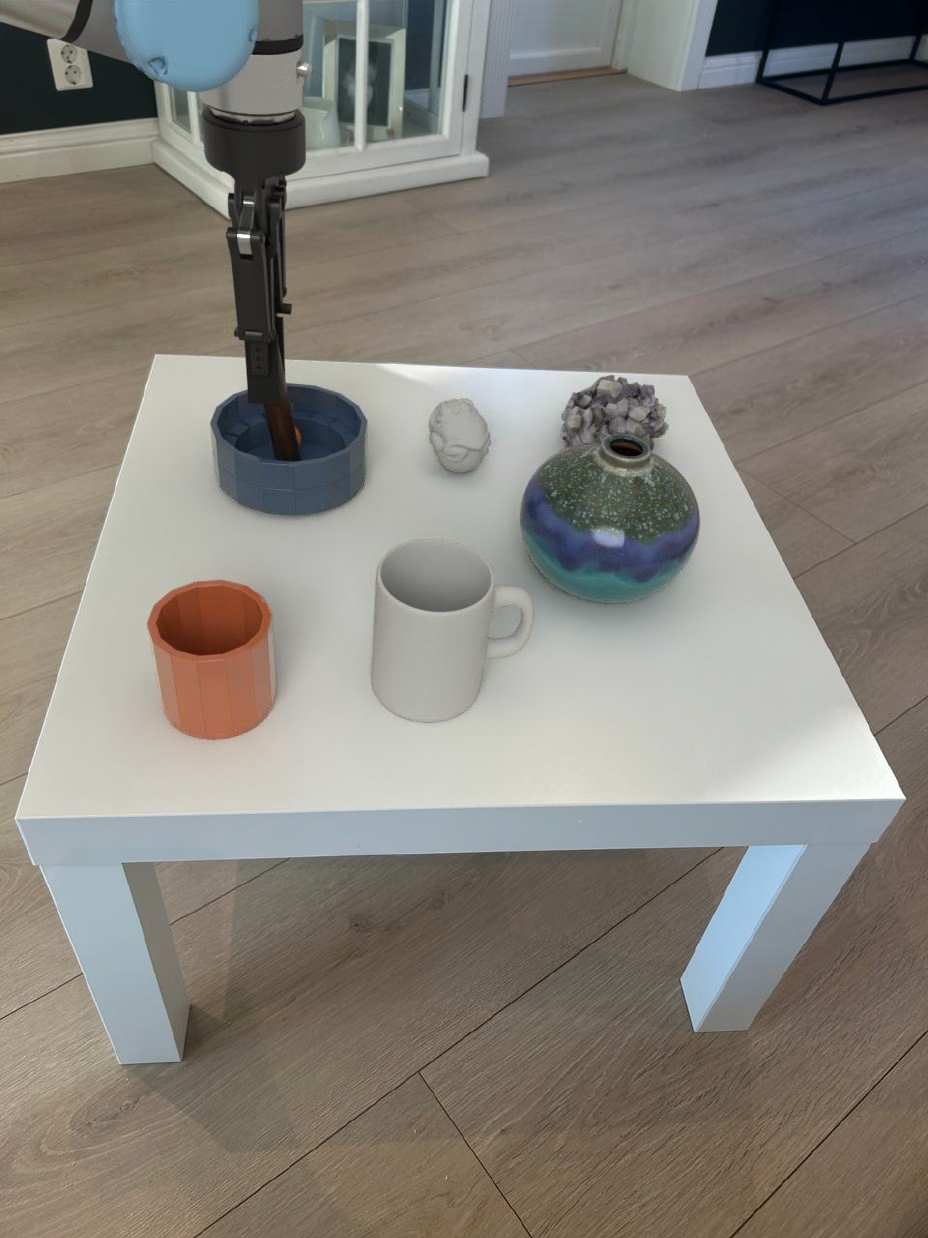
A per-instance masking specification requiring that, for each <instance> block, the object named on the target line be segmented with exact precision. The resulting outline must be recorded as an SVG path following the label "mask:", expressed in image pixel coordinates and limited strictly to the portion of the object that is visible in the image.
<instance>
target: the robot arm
mask: <svg viewBox="0 0 928 1238" xmlns="http://www.w3.org/2000/svg"><path fill="white" fill-rule="evenodd" d="M0 23H4V24H7V25H10V26H14V27H17V28H20V29H23V30H26V31H30V32H33V33H36V34H40V35H43V36H46V37H50V38H54V39H55V40H58V41H61V42H64V43H66V44H70V46H74V47H77V48H80V49H83V50H87V51H90V52H93V53H97V54H99V55H103V56H106V57H109V58H113V59H116V60H119V61H123V62H124V63H125V62H126V63H129V64H132V65H133V66H135V67H136V68H137V69H138V70H139V72H142V73H143V74H145V75H146V77H148V78H149V79H150V80H153V81H155V82H157V83H161V84H165V85H167V86H168V87H171V88H172V89H176V90H179V91H183V92H189V93H198V97H199V100H200V101H201V102H202V103H203V104H204V105H205V106H204V108H203V110H202V111H201V112H200V113H201V114H200V115H201V116H200V117H201V118H200V119H201V127H202V128H201V129H202V140H203V151H204V158H205V160H206V162H207V163H208V164H209V165H210V167H212V168H213V169H215V170H217V171H219V172H221V173H225V174H227V175H229V176H230V177H231V178H232V179H233V181H234V183H233V192H228V194H227V211H228V217H229V219H230V220H231V226H228V227H227V229H226V232H225V238H226V241H227V246H228V251H229V255H230V262H231V272H232V273H231V274H232V284H233V296H234V302H235V303H234V304H235V305H234V306H235V315H236V327H235V329H234V330H233V336H234V337H235V338H238V341H244V355H245V371H246V387H247V389H248V403H254V404H265V405H276V406H279V405H280V375H279V350H280V355H281V360H282V365H283V370H284V375H285V376H286V358H285V357H286V355H285V331H284V330H285V327H284V326H285V325H284V316H279V314H280V315H290V316H291V315H292V311H293V303H287V302H284V299H285V298H286V296H287V293H288V288H287V270H286V269H287V268H286V267H287V266H286V261H287V259H286V258H287V257H286V205H287V202H288V201H287V200H288V196H287V195H288V194H287V192H288V191H287V186H288V182H287V179H286V177H289V176H291V175H293V174H296V173H298V172H300V170H302V169H303V168H304V166H305V164H306V162H307V135H306V132H307V131H306V130H307V129H306V127H307V126H306V117H305V116H304V114H303V113H302V111H301V110H300V109H301V108H302V107H303V106H304V104H305V78H306V79H307V78H310V77H312V75H313V72H314V67H313V65H312V63H311V62H308V61H302V57H303V55H304V40H305V39H304V0H0ZM274 324H275V327H274ZM275 329H276V330H275ZM278 345H279V349H278ZM247 389H246V390H247Z"/></svg>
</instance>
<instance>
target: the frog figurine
mask: <svg viewBox="0 0 928 1238" xmlns="http://www.w3.org/2000/svg"><path fill="white" fill-rule="evenodd" d="M428 431H429V432H430V433H429V436H428V440H429V442H430V444H431V445H432V450H433V452H434V454H435V457H436V458H437V461H438V462H439V463H440V464H441V466H443V467H444V469H446V470H448V471H450V472H453V473H460V474H461V473H467V472H470V471H472V470H474V469H476V467H478V466H479V465H480V464H481V462H482V461H483V459H484V457H485V456H486V455H488V454H489V451H490V450H489V447H490V446H491V445H492V439H491V433H490V431H489V430H488V424H487V422H486V420H485V418H484V417H483V415H481V414H480V413H479V410H478V408H476V407H475V406H474V401H472V400H471V399H470V398H467V397H462V398H459V399H457V398H451V399H449V400H444V401H441V402H439V403H437V404H436V406H435V407H434V408H433V410H432V411H431V414H430V417H429V419H428Z"/></svg>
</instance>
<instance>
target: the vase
mask: <svg viewBox="0 0 928 1238" xmlns="http://www.w3.org/2000/svg"><path fill="white" fill-rule="evenodd" d="M693 490H694V489H693V488H692V487H691V485H690V483H689V482H688V480H687V479H686V478H685V477H684V476H683V474H682V473H681V472H680V471H679V470H678V468H676V467H675V466H673V465H672V464H671V463H670V462H669V461H668V460H666V459H665V458H663V457H662V456H659V454H656V453H655V452H652V450H651V451H650V447H649V446H648V444H647V443H646V442H644V441H643V440H642V439H640V438H638V437H635V436H632V435H628V434H613V435H610V436H608V437H606V438H605V439H604V440H603V441H596V442H589V443H583V444H579V445H575V446H572V447H567V448H564V449H562V450H560V451H558V452H556V453H554V454H552V455H551V456H550V457H548V458H547V459H546V460H545V461H544V462H543V463H542V464H540V465H539V467H537V469H536V470H535V471H534V473H533V474H532V476H530V479H529V480H528V481H527V484H526V485H525V489H524V490H523V494H522V496H521V497H522V498H521V501H520V509H519V526H520V531H521V536H522V541H523V544H524V546H525V549H526V551H527V554H528V557H529V558H530V560H531V561H532V562H533V564H534V565H535V567H536V568H537V570H538V571H539V573H540V574H542V576H543V577H545V579H547V580H548V581H549V582H550V583H552V584H553V585H554V586H556V587H557V588H559V589H560V590H562V591H563V592H565V593H568V594H569V595H571V596H574V597H577V598H580V599H583V600H586V601H591V602H597V603H602V604H603V603H604V604H623V603H624V604H625V603H629V602H630V603H631V602H634V601H635V602H636V601H638V600H641V599H642V600H643V599H644V598H647V597H649V596H652V595H654V594H655V593H657V592H659V591H660V590H662V589H664V588H666V586H668V585H669V584H670V583H672V581H674V580H675V579H676V578H677V577H678V576H679V575H680V574H681V572H683V570H684V569H685V567H686V566H687V564H688V563H689V561H690V560H691V557H692V555H693V554H694V551H695V549H696V546H697V544H698V541H699V540H698V539H699V536H700V529H701V516H700V515H701V514H700V508H699V503H698V500H697V498H696V495H695V492H694V491H693Z"/></svg>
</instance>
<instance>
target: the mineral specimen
mask: <svg viewBox="0 0 928 1238" xmlns="http://www.w3.org/2000/svg"><path fill="white" fill-rule="evenodd" d="M627 379H628V378H627V377H621V376H618V378H617V379H615V374H608V375H606V376H600V377H598V379H597V380H596V381H594V383H593V384H592V385H591V386H588V387H586V388H584V389H581V391H577V392H576V391H575V392H574V391H573V392H572V393H571V396H570V398H569V400H568V401H567V403H566V405H565V407H564V410H563V412H562V413H561V415H560V418H561V421H563V424H562V426H561V428H560V432H559V433H560V434H559V437H560V438H561V440H562V441H563V442H564V443H565V445H566V446H567V448H569V447H572V446H575V445H579V444H583V443H589V442H596V441H603V440H604V439H605V438H606V437H608V436H610V435H613V434H628V435H632V436H635V437H638V438H640V439H642V440H643V441H644V442H646V443H647V444H648V446H649V447H650V451H651V452H652V450H653V449H654V448H655V443H654V439H660V438H661V437H662V436H664V435H666V433H667V432H668V431H669V428H670V427H669V426H670V424H669V423H666V422H665V418H666V416H667V406H665V405H664V404H663V403H661V402H659V398H658V397H656V395H655V393H656V390H655V386H654V384H647V383H643V384H639V382H638V381H636V382H633V383H629V382H628V380H627Z"/></svg>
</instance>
